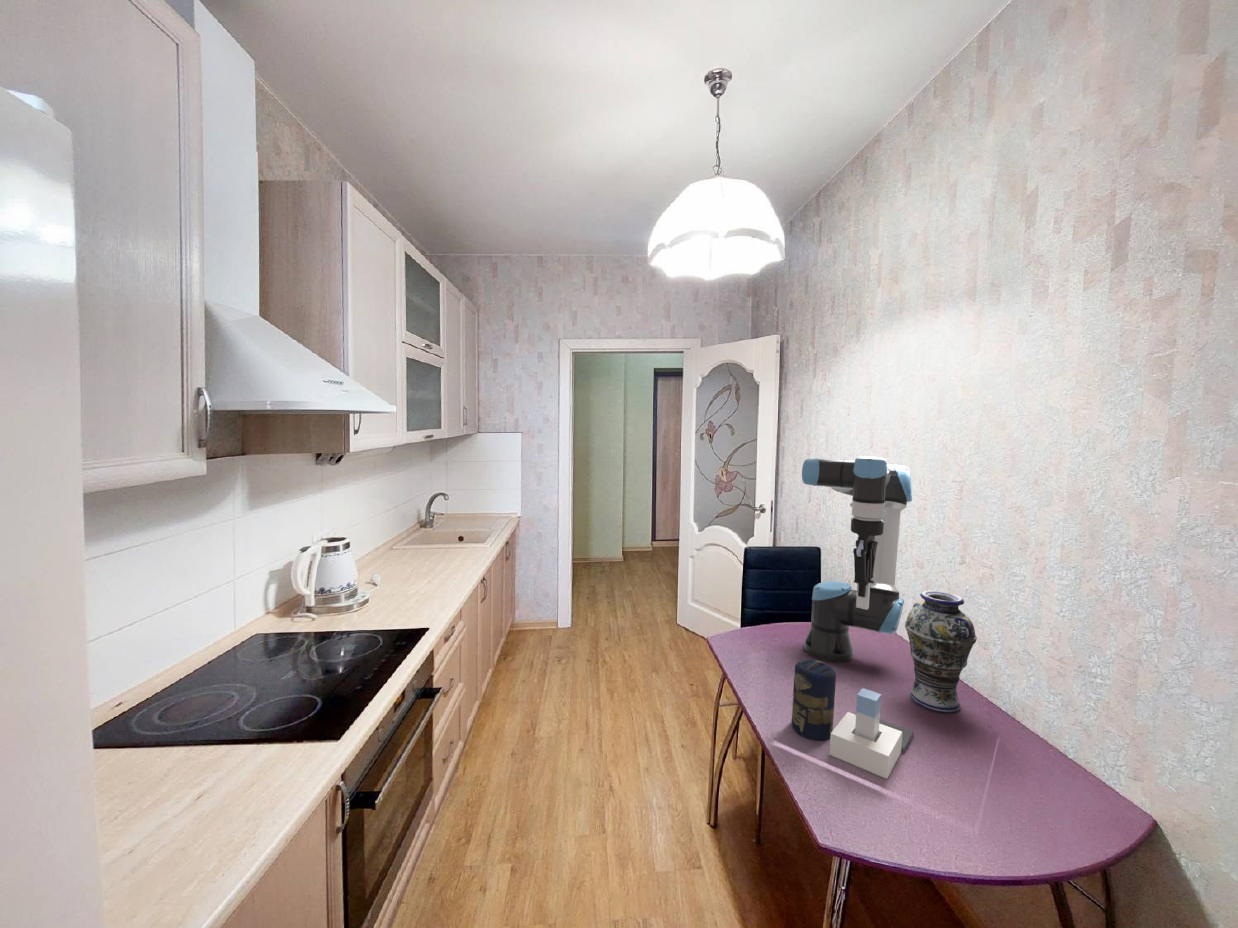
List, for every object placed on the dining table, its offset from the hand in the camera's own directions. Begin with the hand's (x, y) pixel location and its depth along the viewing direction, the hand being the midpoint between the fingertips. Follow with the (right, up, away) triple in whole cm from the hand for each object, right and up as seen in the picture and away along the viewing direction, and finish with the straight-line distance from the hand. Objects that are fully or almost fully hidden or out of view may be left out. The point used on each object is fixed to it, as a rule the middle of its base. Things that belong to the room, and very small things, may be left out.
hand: (862, 607), depth 135 cm
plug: (-7, -29, -16) cm, 34 cm away
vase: (+24, -29, +9) cm, 39 cm away
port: (-7, -30, -16) cm, 34 cm away
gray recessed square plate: (+2, -30, -9) cm, 31 cm away
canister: (-15, -29, -6) cm, 34 cm away
